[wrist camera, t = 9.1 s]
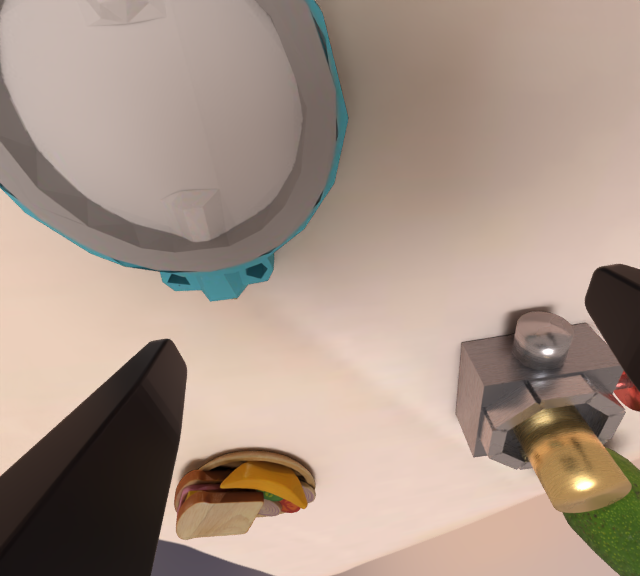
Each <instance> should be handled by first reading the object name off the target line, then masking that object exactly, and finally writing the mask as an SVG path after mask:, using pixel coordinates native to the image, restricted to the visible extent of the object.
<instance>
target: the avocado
mask: <svg viewBox="0 0 640 576" xmlns="http://www.w3.org/2000/svg"><path fill="white" fill-rule="evenodd" d="M605 449H606V450H607V451H608V453H609V454H610V455H611V457H612V458H613V460H614V461H615V462H616V464H617V465H618V466H619V468H620V469H621V471H622V472H623V473H624V475H625V476H626V477H627V479H628V480H629V482H630V483H631V485H632V488H631V490H630V492H629V493H628V494H627V495H626V496H625V497H623V498H622V499H620V500H619V501H617V502H615V503H613V504H611V505H608V506H606V507H603V508H600V509H596V510H592V511H588V512H581V513H565V512H563V514H564V516H565V518H566V520H567V522H568V524H569V525H570V526H571V528H572V529H573V530H574V531H575V532H576V533H577V534H578V535H579V536H580V537H581V538H582V539H583V540H584V541H585V542H586V543H587V545H588V546H589V547H590V548H591V549H592V550H593V551H594V552H595V553H596V554H597V555H598V556H599V557H601V559H603V560H604V561H605V562H606V563H607V564H608V565H609V566H610V567H611V568H612V569H613V570H614V571H616V572H617V573H618V574H619V575H620V576H640V470H639V469H638V468H636V467H635V466H634V465H633V464H632V463H631V462H630V461H629V460H627V459H626V458H624V457H623V456H621V455H620V454H618V453H617V452H615V451H613V450H611V449H608V448H606V447H605Z"/></svg>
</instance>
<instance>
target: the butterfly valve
mask: <svg viewBox="0 0 640 576" xmlns="http://www.w3.org/2000/svg"><path fill="white" fill-rule="evenodd" d="M347 123H348V114H347V110H346V106H345V102H344V98H343V94H342V90H341V86H340V82H339V78H338V74H337V70H336V66H335V62H334V58H333V54H332V49H331V45H330V41H329V37H328V33H327V29H326V25H325V21H324V17H323V13H322V11H321V9H320V8H319V6H318V5H317V3H316V2H315V0H0V188H1V189H2V190H3V191H4V192H5V193H6V194H7V195H8V196H9V197H10V198H11V199H12V200H13V201H14V202H15V203H16V204H17V205H18V206H19V207H20V208H21V209H22V210H23V211H24V212H25V213H26V214H28V215H30V216H31V217H33V218H34V219H36V220H38V221H39V222H41V223H42V224H44V225H46V226H47V227H49V228H50V229H52V230H54V231H55V232H57V233H58V234H60V235H62V236H63V237H65V238H66V239H68V240H70V241H71V242H73V243H74V244H76V245H78V246H79V247H81V248H82V249H84V250H86V251H87V252H89V253H91V254H93V255H96V256H99V257H101V258H104V259H107V260H109V261H112V262H114V263H117V264H120V265H122V266H125V267H132V268H138V269H145V270H152V271H159V272H160V274H161V278H162V282H163V283H165V284H166V285H168V286H169V287H170V288H172V289H173V290H175V291H190V290H202V291H203V293H204V294H205V295H206V297H207V298H208V299H209V300H210V301H218V300H225V299H237V298H238V297H239V296H240V294H241V293H242V292H243V290H244V289H245V288H246V287H247V285H248V284H253V283H259V282H264V281H268V280H269V278H270V275H271V273H272V271H273V268H274V252H275V251H277V250H278V249H279V248H280V247H282V246H283V245H284V244H286V243H287V242H288V241H289V240H291V239H292V238H293V237H294V236H296V235H297V234H298V233H300V232H301V231H302V230H303V229H304V228H305V227H306V225H307V224H308V222H309V221H310V219H311V218H312V216H313V215H314V213H315V212H316V210H317V209H318V207H319V206H320V204H321V203H322V201H323V200H324V198H325V197H326V195H327V194H328V192H329V191H330V189H331V187H332V186H333V184H334V182H335V178H336V173H337V169H338V164H339V159H340V155H341V150H342V146H343V141H344V137H345V132H346V127H347Z"/></svg>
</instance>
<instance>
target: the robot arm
mask: <svg viewBox="0 0 640 576" xmlns="http://www.w3.org/2000/svg"><path fill="white" fill-rule="evenodd" d="M585 306H586V309H587V311H588V313H589V314H590V316H591V318H592V319H593V321H594V323H595V324H596V326H597V328H598V329H599V331H600V333H601V334H602V336H603V338H604V339H605V341H606V343H607V344H608V346H609V348H610V349H611V351H612V353H613V354H614V356H615V357H616V359H617V361H618V362H619V364H620V365H621V367H622V369H623V370H624V372H625V373H626V374H627V376H628V377H629V379H630V380H631V381H632V383H633V384H634V385H635V387H636V388H637V389H638V391H639V392H640V269H637V268H634V267H630V266H627V265H623V264H614V265H608V266H602V267H599V268H597V269H596V270H595V271H594V273H593V275H592V278H591V281H590V284H589V287H588V290H587V293H586V296H585ZM186 380H187V367H186V364H185V361H184V360H183V358H182V356H181V355H180V353H179V351H178V349H177V348H176V346H175V344H174V343H173V341H172V340H170V339H161V340H155V341H151V342H149V343H148V344H147V345H146V346H145V347H144V348H142V349H141V350H140V351H139V352H138V353H137V354H136V355H135V356H134V357H132V358H131V359H130V360H129V361H128V362H127V363H126V364H125V365H124V366H122V367H121V368H120V369H119V370H118V371H117V372H116V373H115V374H114V375H112V376H111V377H110V378H109V379H108V380H107V381H106V382H105V383H104V384H102V385H101V386H100V387H99V388H98V389H97V390H96V391H95V392H94V393H92V394H91V395H90V396H89V397H88V398H87V399H86V400H85V401H84V402H82V403H81V404H80V405H79V406H78V407H77V408H76V409H75V410H73V411H72V412H71V413H70V414H69V415H68V416H67V417H66V418H65V419H63V420H62V421H61V422H60V423H59V424H58V425H57V426H56V427H55V428H53V429H52V430H51V431H50V432H49V433H48V434H47V435H46V436H45V437H43V438H42V439H41V440H40V441H39V442H38V443H37V444H36V445H35V446H33V447H32V448H31V449H30V450H29V451H28V452H27V453H26V454H25V455H23V456H22V457H21V458H20V459H19V460H18V461H17V462H16V463H15V464H13V465H12V466H11V467H10V468H9V469H8V470H7V471H6V472H5V473H3V474H2V475H1V476H0V576H150V575H151V571H152V567H153V562H154V558H155V552H156V548H157V544H158V539H159V535H160V530H161V525H162V521H163V516H164V512H165V507H166V502H167V498H168V493H169V488H170V484H171V479H172V475H173V470H174V465H175V461H176V456H177V452H178V447H179V441H180V435H181V428H182V419H183V409H184V399H185V390H186Z"/></svg>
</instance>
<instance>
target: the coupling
mask: <svg viewBox="0 0 640 576" xmlns="http://www.w3.org/2000/svg"><path fill="white" fill-rule="evenodd" d="M512 430H513V431H514V433H515V435H516V437H517V439H518V441H519V443H520V445H521V446H522V448H523V450H524V452H525V454H526V456H527V458H528V460H529V461H530V463H531V465H532V467H533V469H534V471H535V473H536V475H537V476H538V478H539V480H540V482H541V484H542V486H543V488H544V490H545V492H546V493H547V495H548V497H549V499H550V501H551V503H552V505H553V507H554V508H555V509H556V510H558V511H560V512H565V513H581V512H588V511H592V510H596V509H600V508H603V507H606V506H608V505H611V504H613V503H615V502H617V501H619V500H620V499H622V498H623V497H625V496H626V495H627V494H628V493H629V492H630V490H631V488H632V485H631V483H630V482H629V480H628V479H627V477H626V476H625V475H624V473H623V472H622V471H621V469H620V468H619V466H618V465H617V464H616V462H615V461H614V460H613V458H612V457H611V455H610V454H609V453H608V451H607V450H606V449H605V447H604V446H603V444H602V443H601V442H600V440H599V439H598V438H597V436H596V435H595V434H594V432H593V431H592V429H591V428H590V427H589V425H588V424H587V423H586V421H585V420H584V418H583V417H582V416H581V414H580V413H579V412H578V410H577V409H576V407H575V406H574V405H570V406H563V407H556V408H549V409H542V410H541V411H539V412H537V413H536V414H534V415H533V416H531V417H529V418H528V419H526V420H524V421H523V422H521V423H520V424H518V425H516V426H515V427H513V428H512Z"/></svg>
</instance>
